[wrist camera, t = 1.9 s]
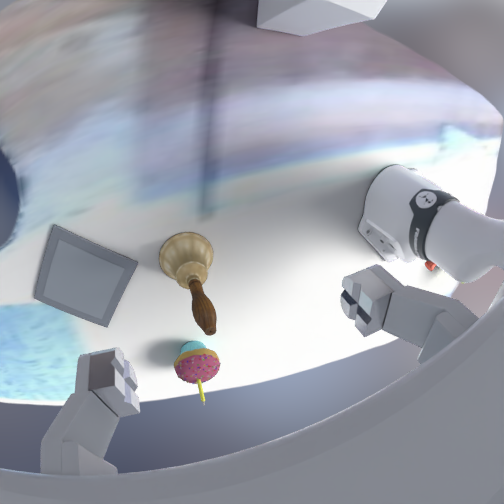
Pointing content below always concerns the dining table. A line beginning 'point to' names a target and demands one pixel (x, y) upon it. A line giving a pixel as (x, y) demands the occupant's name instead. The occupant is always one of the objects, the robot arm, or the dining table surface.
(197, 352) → the cupcake
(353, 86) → the dining table surface
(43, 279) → the plate
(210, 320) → the hand bell
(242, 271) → the dining table surface
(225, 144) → the dining table surface
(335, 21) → the milk carton
